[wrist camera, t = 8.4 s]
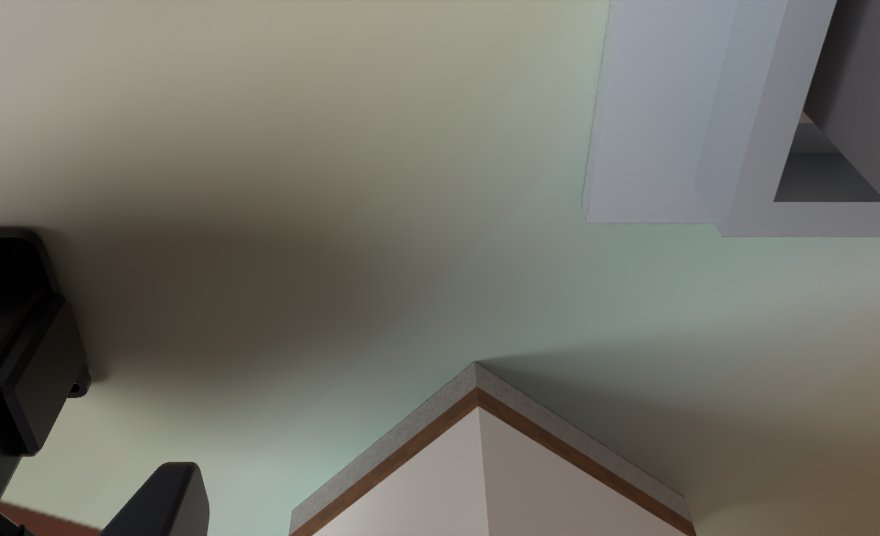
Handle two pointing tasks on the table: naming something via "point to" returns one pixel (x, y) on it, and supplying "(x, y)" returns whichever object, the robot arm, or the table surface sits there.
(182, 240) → the table surface
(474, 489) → the white box wooden trim
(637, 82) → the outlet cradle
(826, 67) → the brick
